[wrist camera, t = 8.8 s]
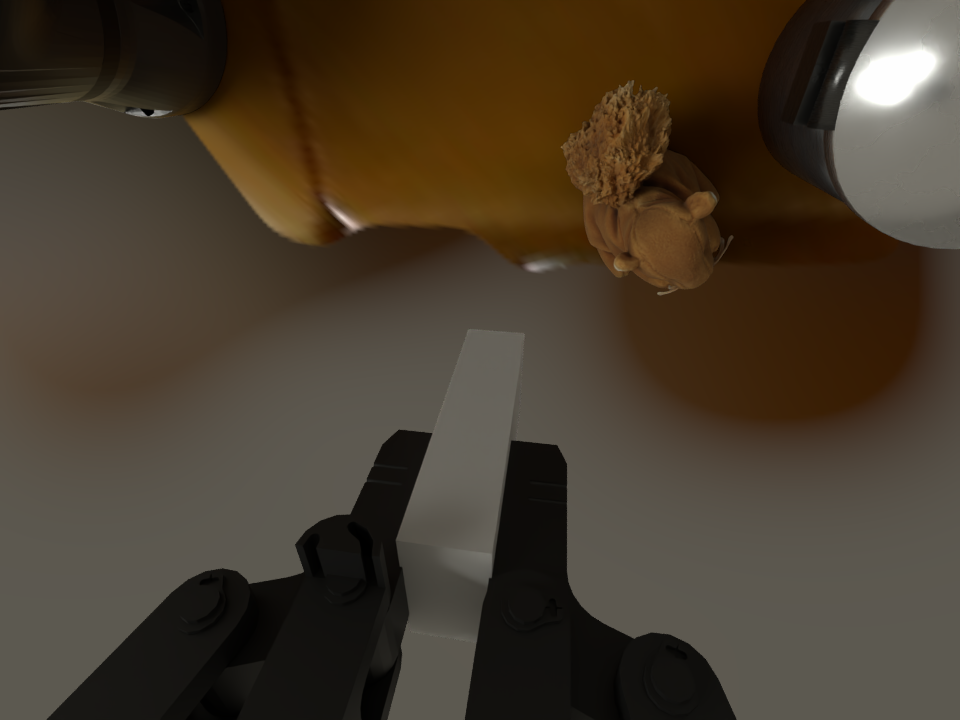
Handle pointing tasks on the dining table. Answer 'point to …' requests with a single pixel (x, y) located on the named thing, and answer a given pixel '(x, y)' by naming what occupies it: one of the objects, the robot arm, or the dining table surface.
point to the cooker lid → (897, 120)
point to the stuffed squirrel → (643, 193)
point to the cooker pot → (803, 85)
